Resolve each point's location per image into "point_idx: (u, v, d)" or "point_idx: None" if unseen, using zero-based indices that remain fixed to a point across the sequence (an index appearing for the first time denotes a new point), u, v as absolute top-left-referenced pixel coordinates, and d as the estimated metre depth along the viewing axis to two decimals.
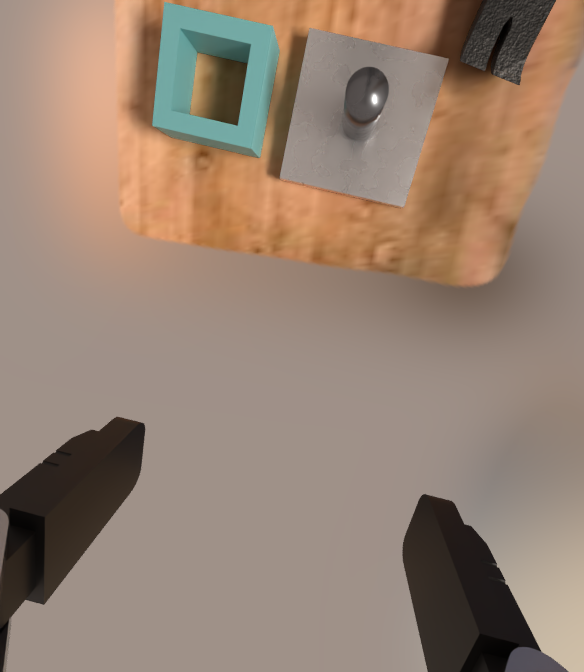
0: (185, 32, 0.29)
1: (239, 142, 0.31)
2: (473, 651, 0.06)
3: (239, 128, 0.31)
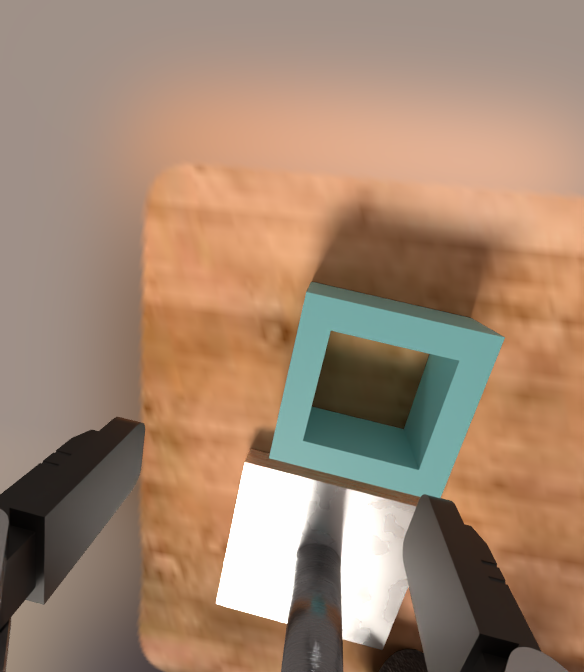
0: (453, 361, 0.17)
1: (277, 441, 0.18)
2: (473, 651, 0.06)
3: (298, 443, 0.18)
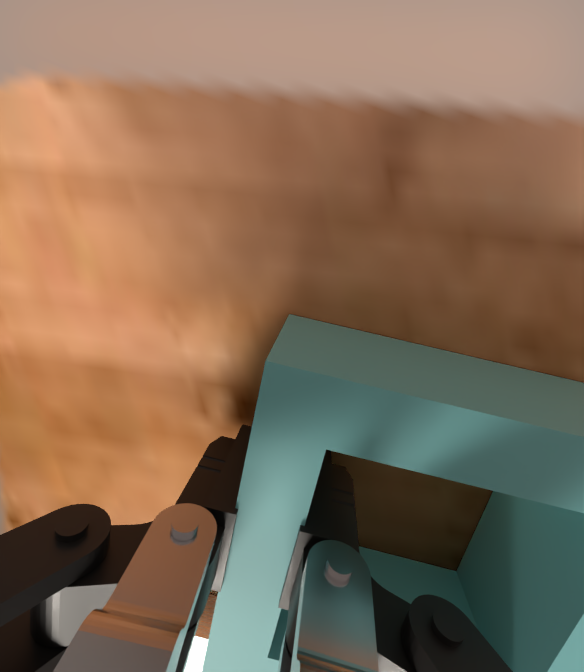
0: None
1: (216, 654, 0.09)
2: (299, 548, 0.07)
3: (259, 660, 0.09)
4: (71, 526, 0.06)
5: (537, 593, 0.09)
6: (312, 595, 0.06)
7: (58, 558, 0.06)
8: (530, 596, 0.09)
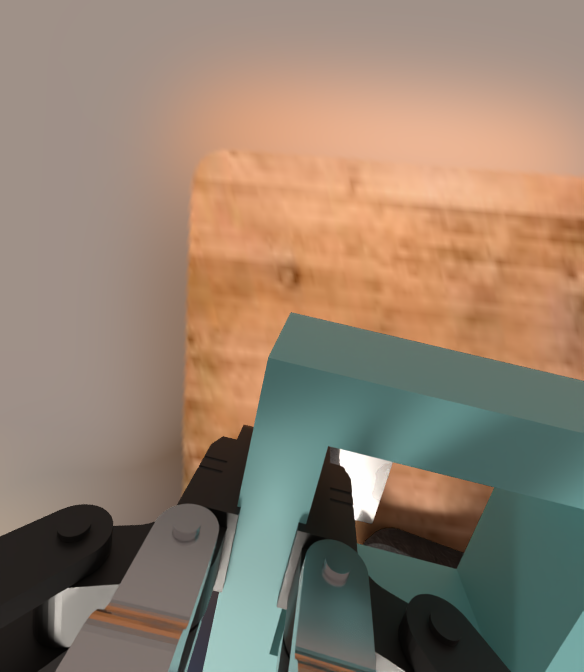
0: None
1: (217, 651, 0.09)
2: (297, 548, 0.07)
3: (260, 657, 0.09)
4: (74, 527, 0.06)
5: (537, 590, 0.09)
6: (309, 595, 0.06)
7: (60, 559, 0.06)
8: (530, 593, 0.09)
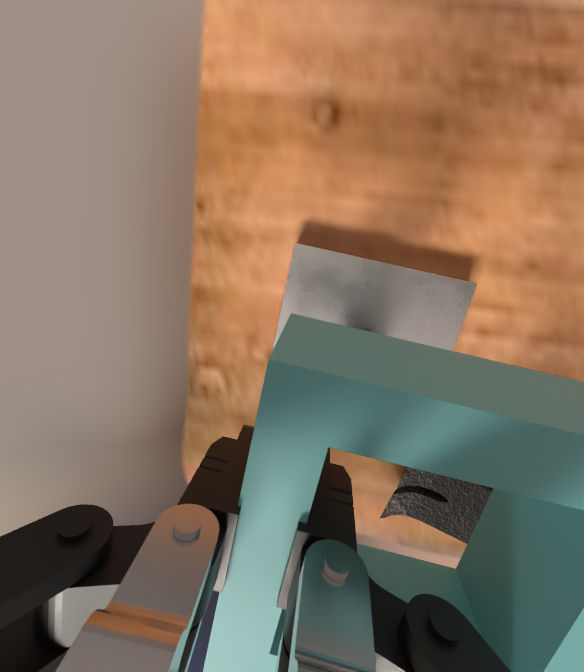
0: None
1: (218, 651, 0.09)
2: (296, 548, 0.07)
3: (261, 656, 0.09)
4: (74, 527, 0.06)
5: (536, 590, 0.09)
6: (309, 594, 0.06)
7: (61, 559, 0.06)
8: (529, 593, 0.09)
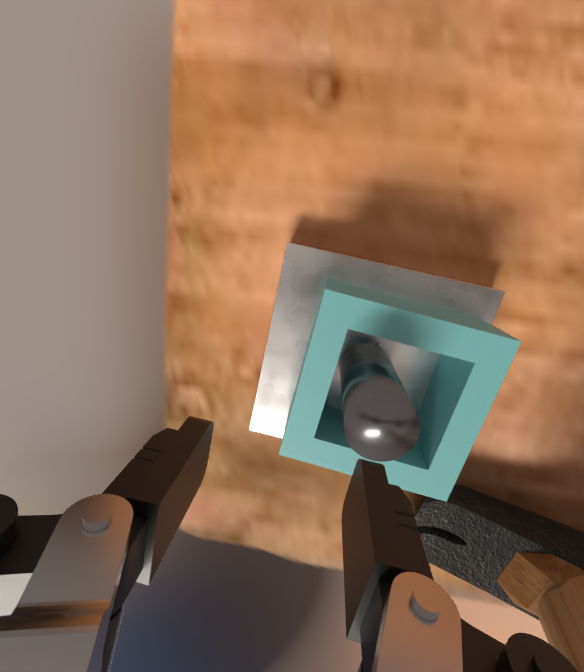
0: (468, 363, 0.17)
1: (288, 437, 0.18)
2: (372, 579, 0.07)
3: (309, 440, 0.18)
4: None
5: (442, 411, 0.18)
6: (406, 637, 0.06)
7: None
8: (440, 414, 0.18)
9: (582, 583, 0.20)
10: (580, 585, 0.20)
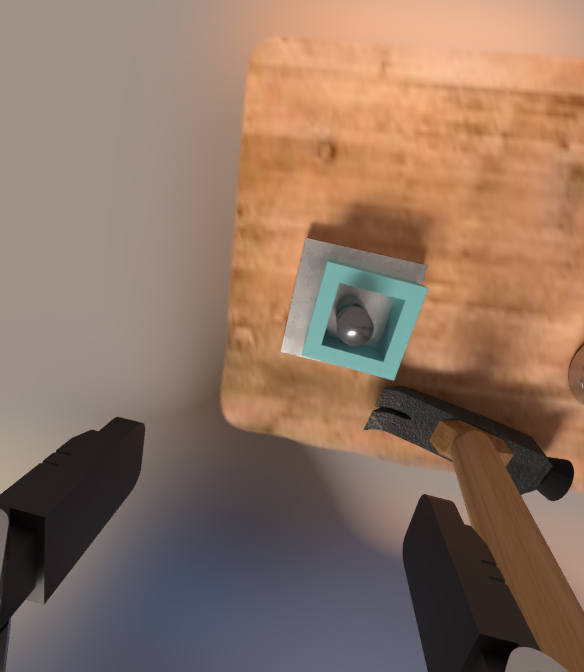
0: (403, 301, 0.32)
1: (307, 345, 0.33)
2: (473, 651, 0.06)
3: (318, 346, 0.33)
4: None
5: (391, 330, 0.33)
6: None
7: None
8: (390, 332, 0.33)
9: (473, 432, 0.35)
10: (472, 433, 0.35)
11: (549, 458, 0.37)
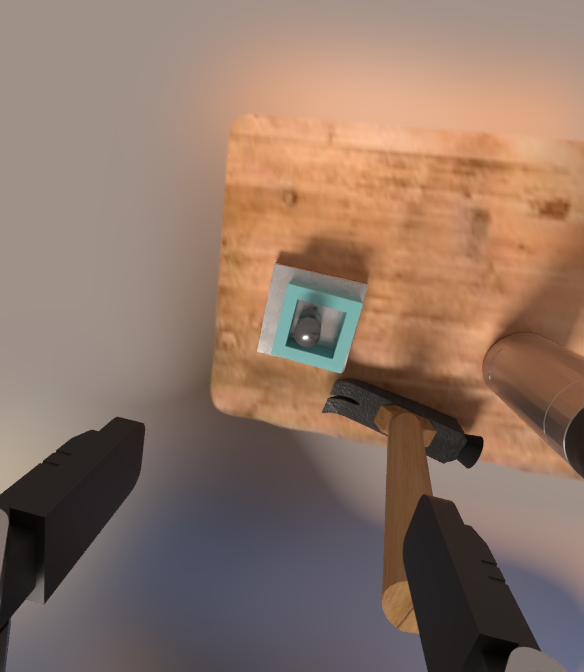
0: (346, 313, 0.42)
1: (274, 346, 0.44)
2: (473, 651, 0.06)
3: (283, 347, 0.43)
4: None
5: (339, 335, 0.43)
6: None
7: None
8: (338, 336, 0.44)
9: (405, 414, 0.45)
10: (404, 415, 0.45)
11: (467, 435, 0.47)
